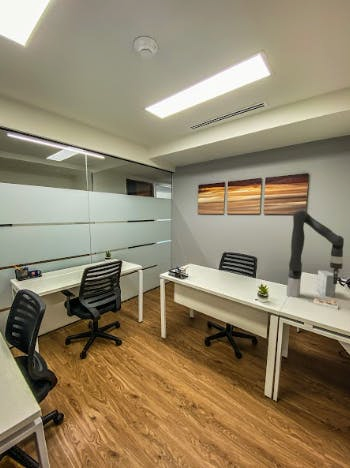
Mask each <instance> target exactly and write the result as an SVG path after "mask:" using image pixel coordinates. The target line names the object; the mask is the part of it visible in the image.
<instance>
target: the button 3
mask: <svg viewBox="0 0 350 468" xmlns="http://www.w3.org/2000/svg"><path fill="white" fill-rule="evenodd" d="M330 302H331V305H334V306H336V303H337V300H336V299H331V300H330Z"/></svg>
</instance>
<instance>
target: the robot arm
mask: <svg viewBox="0 0 350 468" xmlns="http://www.w3.org/2000/svg"><path fill="white" fill-rule="evenodd" d="M292 219H293V222H292V223H293V226H292V227H293V228H292V233H291V240H290V241H291V242H290V253H291V254H290V259H289V262H288V263H289V264H288V267H289V268H288V279H287V280H288V282H287V284H286V296H287V297H288V298H291V297H292V298H300V296H301V282H302V271H303V264H302V254H303V250H304V245H305V229H304V226H305V224H306V225H308V226H309V227H310V228H312V229H313V230H314V231H315V232H316V233H317V234H319V235H320V236H321V237H323V238H325V239H326V240H327V241H328V242H329V243H331V249H330V250H331V252H330V259H329V260H330V261H329V262H330V263H329V267H330V269H332V274H333V284H336V285H337V284H338V280H339V279H338V278H339V274H340V270H342V269H343V267H344V265H343V264H344V263H343V262H344V257H343V256H344V250H343V249H344V245H345V244H344V243H345V239H344V237H343V236H342V235H338V234H336V233H335V232H333V231H332V229H330V228H328V227H327V226H325V225H324V224H322V223H320V222H319V221H318V220H316V219H315V218H313V217H312V216H311V215H310V214H309V213H308V212H307V211H306V210H304V209H298V210H296V211H294V213H293V217H292Z"/></svg>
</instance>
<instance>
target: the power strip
mask: <svg viewBox="0 0 350 468" xmlns="http://www.w3.org/2000/svg"><path fill="white" fill-rule="evenodd" d="M316 299H317V298H314V299H313V301H310V300H309V301H308V302H309V303H312V304H313V305H316V306H320V307H324V308H329V309H334V310H337V311H338V309H339V304H338V303H337V302H336V306H334V305H331V301H328V304H325V303H323V300H324V299H323V300H322V299H320V300H321V303H320V302H316Z"/></svg>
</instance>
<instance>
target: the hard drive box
mask: <svg viewBox="0 0 350 468" xmlns="http://www.w3.org/2000/svg"><path fill="white" fill-rule="evenodd" d="M316 283H317V285H316V291H317V293H318V294H320V295H321V296H323V297H328V298H332V299H335V298H336V285H337V284H333V272H330V271H328V270H318V271H317V282H316Z"/></svg>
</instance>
